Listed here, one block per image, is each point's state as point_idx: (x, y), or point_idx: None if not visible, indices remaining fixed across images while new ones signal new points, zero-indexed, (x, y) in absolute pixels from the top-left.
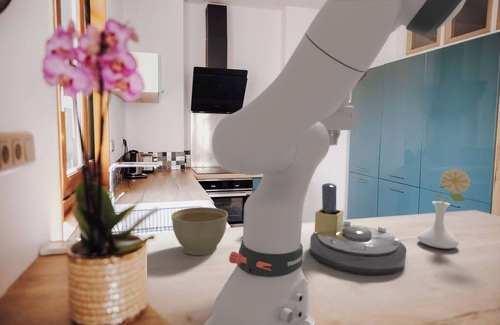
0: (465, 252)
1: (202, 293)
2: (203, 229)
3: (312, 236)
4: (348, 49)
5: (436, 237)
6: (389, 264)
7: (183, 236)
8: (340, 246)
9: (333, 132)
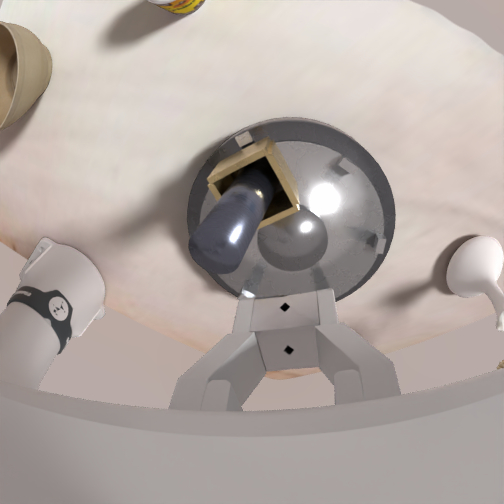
0: (465, 298)
1: (20, 213)
2: None
3: (220, 151)
4: None
5: (459, 283)
6: None
7: None
8: None
9: (335, 398)
